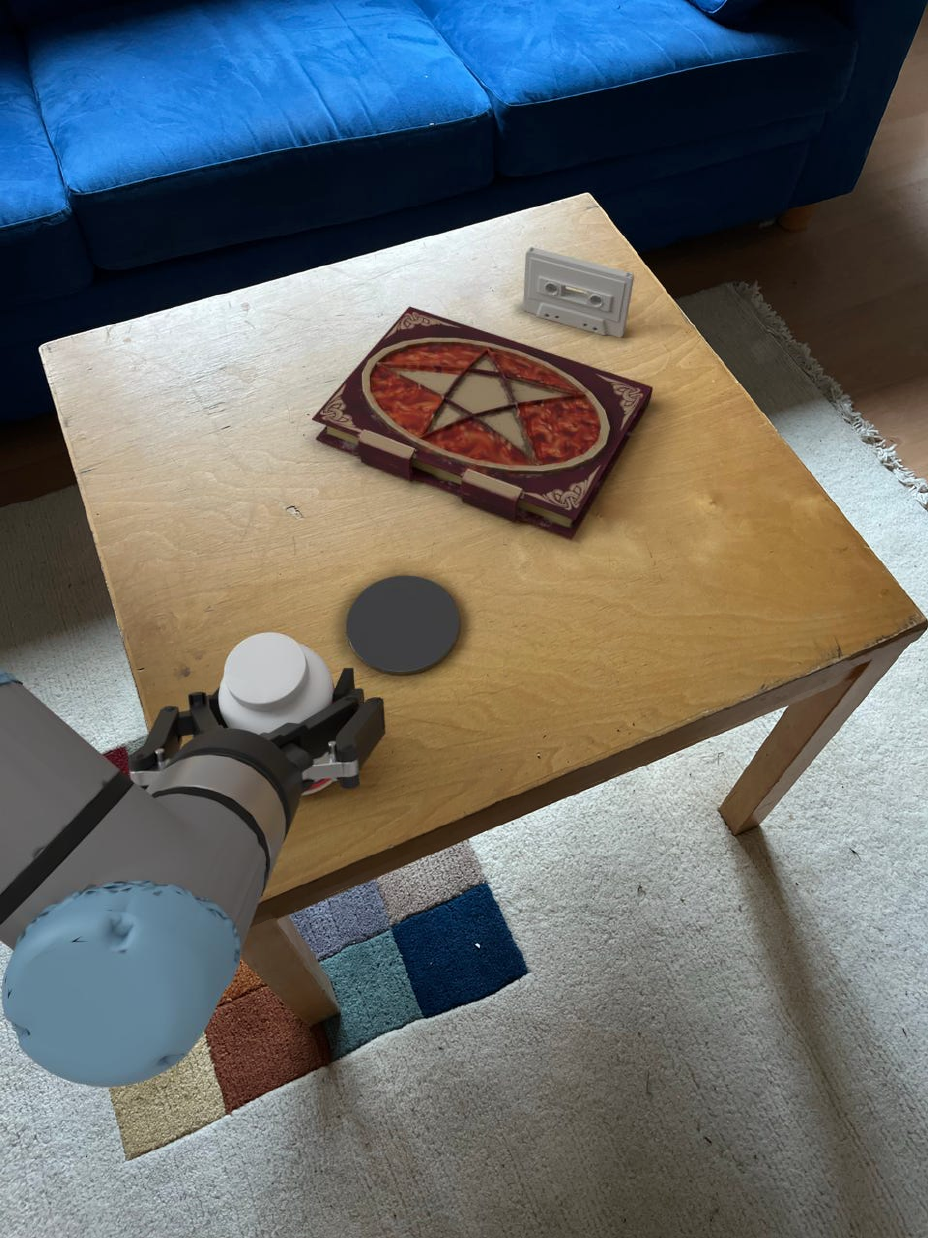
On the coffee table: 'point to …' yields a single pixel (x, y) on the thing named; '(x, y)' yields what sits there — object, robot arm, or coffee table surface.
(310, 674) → the pill bottle
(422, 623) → the coaster
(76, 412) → the coffee table surface
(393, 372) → the book
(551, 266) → the cassette
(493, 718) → the coffee table surface
